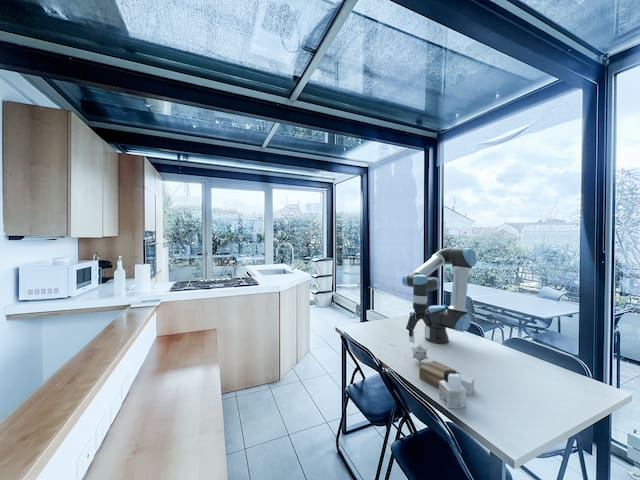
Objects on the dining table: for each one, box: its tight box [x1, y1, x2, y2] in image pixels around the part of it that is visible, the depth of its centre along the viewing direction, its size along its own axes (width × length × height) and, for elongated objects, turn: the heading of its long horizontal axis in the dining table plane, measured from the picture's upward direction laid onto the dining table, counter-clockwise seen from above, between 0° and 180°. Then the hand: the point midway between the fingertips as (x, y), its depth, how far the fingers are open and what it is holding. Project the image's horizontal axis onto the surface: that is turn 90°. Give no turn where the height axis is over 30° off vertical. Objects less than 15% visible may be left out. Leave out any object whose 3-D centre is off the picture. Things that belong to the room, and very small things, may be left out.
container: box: [438, 370, 467, 409], centre depth 112 cm, size 8×8×13 cm
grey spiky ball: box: [411, 344, 429, 363], centre depth 148 cm, size 9×8×10 cm
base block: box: [418, 360, 457, 390], centre depth 129 cm, size 12×12×6 cm
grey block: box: [459, 373, 475, 397], centre depth 120 cm, size 6×6×6 cm
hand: (419, 339), depth 148 cm, fingers open, 13 cm apart
